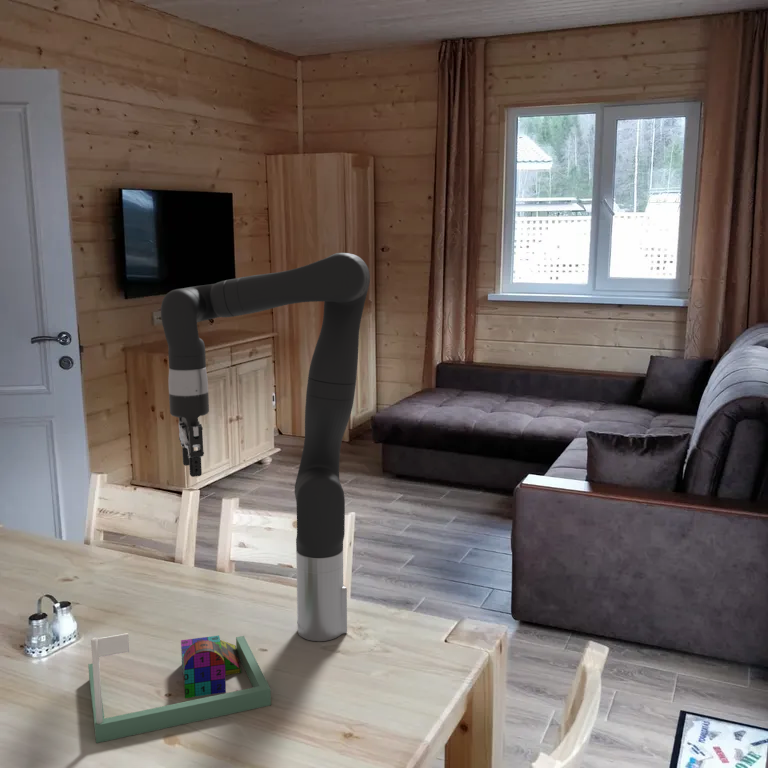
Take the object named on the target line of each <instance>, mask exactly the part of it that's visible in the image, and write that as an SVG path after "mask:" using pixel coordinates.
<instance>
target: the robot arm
mask: <svg viewBox="0 0 768 768" xmlns="http://www.w3.org/2000/svg"><path fill="white" fill-rule="evenodd" d="M370 281H371V275H370V270H369V267H368V265H367V263H366V262H365V261H364V260H363V259H362V258H361V257H360V256H359V255H356V254H353V253H349V252H336V253H333V254H331V255H329V256H327V257H325V258H323V259H320V260H317V261H314V262H312V263H309V264H307V265H306V264H305V265H302V266H300V267H296V268H293V269H288V270H284V271H277V272H271V273H270V272H269V273H264V274H263V273H262V274H261V273H260V274H255V275H246V276H242V277H237V278H231V279H226V280H221V281H218V282H216V283H211V284H204V285H196V286H189V287H184V288H183V287H182V288H176V289H172V290H170V291H169V292H167V293H166V294H165V296H164V297H163V299H162V302H161V304H160V305H161V307H160V318H161V324H162V328H163V332H164V335H165V340H166V343H167V346H168V378H167V379H168V380H167V381H168V401H169V414H170V415H171V417H176V418H178V431H179V432H178V435H179V437H178V440H179V442H180V446H181V447H182V448H181V449H182V450H181V451H182V452H181V453H182V464H183V465H184V466H189V475H190V477H192V478H193V477H194V478H195V477H201V476H202V473H203V472H202V470H203V469H202V458H203V457H204V455H205V451H204V439H203V438H204V437H203V436H204V435H203V430H204V428H203V426H202V423H200V421H199V417H202V416H206V415H207V414H209V412H210V399H209V398H210V397H209V379H208V374H207V373H208V372H207V359H206V347H205V342H204V340H203V339H202V338H200V336H199V330H198V329H199V328H198V323H200V322H205V321H209V320H213V319H217V318H232V317H233V318H234V317H238V316H244V315H249V314H254V313H259V312H262V311H263V312H264V311H268V310H272V309H275V308H279V307H282V306H283V307H284V306H288V305H294V304H300V303H311V302H313V303H315V302H323V303H324V304H323V318H322V324H321V328H320V332H319V336H318V339H317V341H316V345H315V348H314V351H313V355H312V357H311V361H310V364H309V369H308V375H307V376H308V377H307V386H306V392H305V393H306V394H305V408H304V442H303V443H304V444H303V449H302V454H301V459H300V462H299V467H298V471H297V475H296V479H295V482H294V483H295V484H294V495H295V496H294V497H295V500H296V502H295V503H296V538H295V545H296V546H295V547H296V552H295V554H296V556H295V557H296V558H295V559H296V560H295V561H296V605H297V606H296V607H297V611H296V613H297V614H296V615H297V621H296V623H297V634H298V635H299V636H300V637H301V638H303V639H305V640H308V641H314V642H325V641H326V642H327V641H331V640H333V639H337V638H338V637H340V636H341V635H344V634H346V633H348V599H347V598H348V590H347V589H348V588H347V586H346V585H344V540H345V532H346V531H345V530H346V529H345V527H346V526H345V525H346V523H345V521H346V519H345V518H346V517H345V515H346V512H345V511H346V510H345V509H346V506H345V505H346V504H345V503H346V502H345V499H346V498H345V491H344V488H343V486H342V483H341V481H340V459H341V446H342V441H343V438H344V434H345V432H346V429H347V426H348V423H349V420H350V418H351V414H352V410H353V406H354V399H355V394H356V393H355V392H356V384H357V378H358V377H357V375H358V374H357V373H358V362H359V343H360V327H361V322H362V317H363V312H364V307H365V303H366V299H367V296H368V295H367V294H368V291H369V286H370V283H371V282H370ZM195 448H196V449H197V450H195Z"/></svg>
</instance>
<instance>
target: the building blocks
mask: <svg viewBox="0 0 768 768" xmlns="http://www.w3.org/2000/svg"><path fill="white" fill-rule="evenodd" d="M180 649H181V650H180V651H181V668H182V677H183V678H182V679H183V691H184V699H189V698H190V699H191V698H195V697H202V696H203V697H204V696H209V695H210V696H212V695H218V694H224V693H227V691H226V690H227V687H226V683H227V682H226V676H228V675H234V674H241V673H242V668H241V663H240V658H239V656H238V654H237V650H236V645H235V644H232V643H230V642H227V641H224V640H221V638H220V635H212V636H203V637H197V638H196V637H195V638H188V639H181V640H180Z"/></svg>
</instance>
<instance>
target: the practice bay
mask: <svg viewBox="0 0 768 768" xmlns="http://www.w3.org/2000/svg"><path fill="white" fill-rule="evenodd" d="M129 638H130V637H129V633H128V632H126V633H121V634H114V635H109V636H104V637H93V638H91V639H90V645H91V661H92V663H88V678H89V689H90V697H91V706H92V708H91V709H92V715H93V717H92V718H93V727H94V734H95V743H96V744H99V743H103V742H107V741H112V740H117V739H123V738H125V737H131V736H135V735H139V734H140V735H141V734H145V733H149V732H150V733H151V732H154V731H158V730H163V729H168V728H172V727H177V726H182V725H186V724H189V723H195V722H199V721H205V720H209V719H214V718H218V717H223V716H227V715H231V714H237V713H241V712H246V711H251V710H255V709H259V708H264V707H268V706H271V705H272V697H271V695H272V694H271V690H272V689H271V687H270V685H269V683H268V681H267V680H266V677H265V675H264V672H263V671H262V670H261V666H260V665H259V663H258V661H257V660H256V657H255V656H254V653H253V651H252V649H251V647H250V645H249V643H248V642H247V639H246V637H245V635H242V636H241V635H240V636H236V637H235V644H236V650H237V654H238V659H239V661H240V662H241V663H240V664H241V665H242V667H243V669H244V672H245V673H246V675H247V677H248V680H249V682H250V685H251V686H252V687H249V688H245V689H240V690H235V691H231V692H224V693H219V694H214V695H210V696H206V697H202V698H201V697H200V698H197V699H191V700H187V701H183V702H177V703H176V702H175V703H173V704H167V705H163V706H158V707H153V708H148V709H143V710H139V711H134V712H129V713H124V714H118V715H115V716H110V717H105V712H104V704H103V697H102V681H101V667H100V666H101V665H100V657H101V658H102V657H107V656H113V655H114V656H115V655H119V654H125V653H129V652H130V642H129V641H130V639H129Z"/></svg>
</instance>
